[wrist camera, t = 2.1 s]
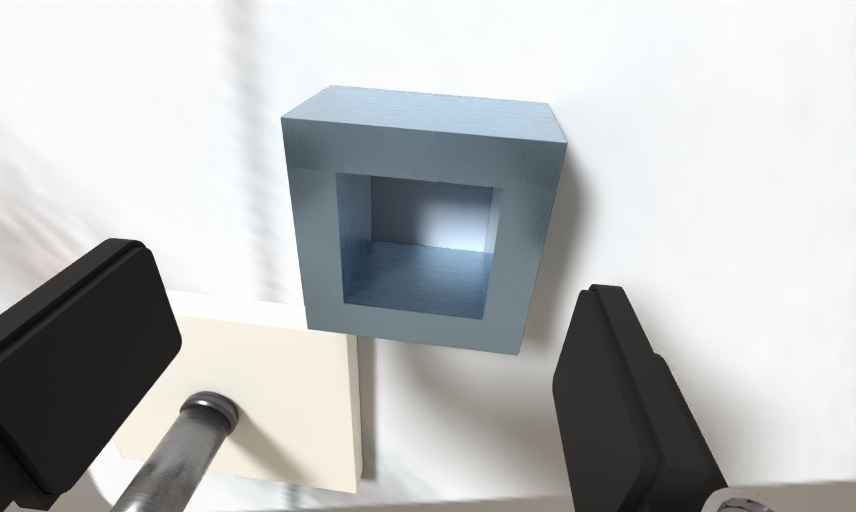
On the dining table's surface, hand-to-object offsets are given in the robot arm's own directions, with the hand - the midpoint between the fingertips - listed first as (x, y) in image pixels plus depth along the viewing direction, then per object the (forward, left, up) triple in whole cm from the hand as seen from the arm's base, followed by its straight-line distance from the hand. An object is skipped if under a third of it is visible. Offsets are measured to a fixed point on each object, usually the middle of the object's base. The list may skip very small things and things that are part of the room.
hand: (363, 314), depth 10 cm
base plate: (+9, +12, -7) cm, 17 cm away
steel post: (+9, +12, -6) cm, 16 cm away
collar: (-1, 0, -7) cm, 7 cm away
